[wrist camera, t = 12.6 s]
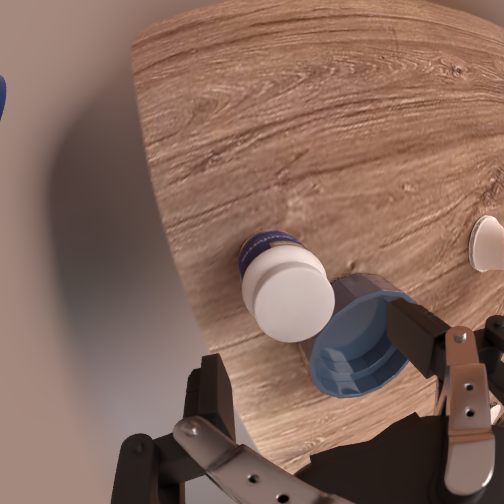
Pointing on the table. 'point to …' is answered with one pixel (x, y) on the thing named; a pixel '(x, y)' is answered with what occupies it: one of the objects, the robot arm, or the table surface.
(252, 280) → the pill bottle
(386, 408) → the table surface
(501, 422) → the apothecary jar
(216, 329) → the table surface
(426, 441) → the robot arm
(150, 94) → the table surface
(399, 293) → the bowl
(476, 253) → the vase
